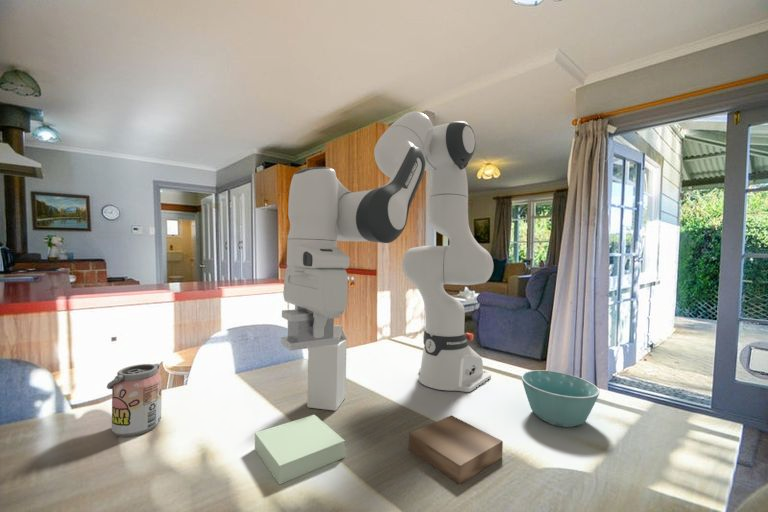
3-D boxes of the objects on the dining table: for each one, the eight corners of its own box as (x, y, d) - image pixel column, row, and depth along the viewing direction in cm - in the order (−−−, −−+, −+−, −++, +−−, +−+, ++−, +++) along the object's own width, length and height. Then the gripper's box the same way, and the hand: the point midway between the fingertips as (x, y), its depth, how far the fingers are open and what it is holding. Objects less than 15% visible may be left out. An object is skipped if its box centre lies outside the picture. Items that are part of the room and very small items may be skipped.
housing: (280, 343, 61) (281, 310, 61) (326, 338, 66) (327, 307, 66) (290, 350, 56) (291, 314, 57) (338, 344, 62) (339, 311, 62)
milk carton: (335, 411, 78) (337, 329, 78) (307, 408, 79) (308, 327, 79) (345, 398, 85) (347, 322, 85) (318, 395, 86) (320, 321, 86)
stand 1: (313, 428, 70) (314, 414, 70) (344, 457, 61) (345, 440, 61) (254, 448, 63) (254, 432, 63) (279, 484, 53) (279, 465, 53)
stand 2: (451, 429, 71) (451, 415, 71) (502, 457, 62) (502, 441, 62) (408, 449, 64) (409, 433, 64) (459, 484, 54) (460, 465, 54)
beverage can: (97, 432, 67) (97, 372, 67) (140, 413, 75) (141, 359, 75) (129, 442, 64) (129, 379, 64) (170, 421, 72) (171, 365, 71)
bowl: (605, 418, 78) (606, 382, 78) (588, 445, 66) (590, 403, 66) (534, 397, 88) (535, 365, 88) (509, 417, 77) (510, 381, 77)
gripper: (276, 255, 68) (274, 324, 68) (319, 257, 51) (316, 348, 51) (306, 256, 71) (304, 322, 71) (355, 258, 55) (353, 343, 55)
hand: (309, 333), depth 61 cm, fingers closed on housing, 5 cm apart
